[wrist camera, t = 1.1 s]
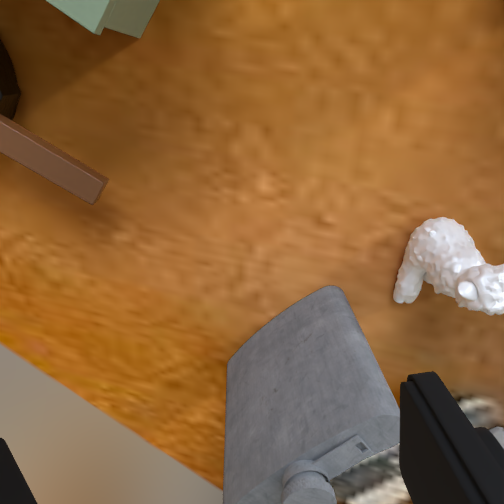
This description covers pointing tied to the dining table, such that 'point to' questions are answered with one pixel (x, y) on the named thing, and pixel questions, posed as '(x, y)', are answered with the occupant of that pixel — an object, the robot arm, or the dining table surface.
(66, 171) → the pan
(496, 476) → the robot arm
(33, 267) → the dining table surface
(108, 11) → the sage green box
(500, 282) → the sitting furry creature
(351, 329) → the hip flask
